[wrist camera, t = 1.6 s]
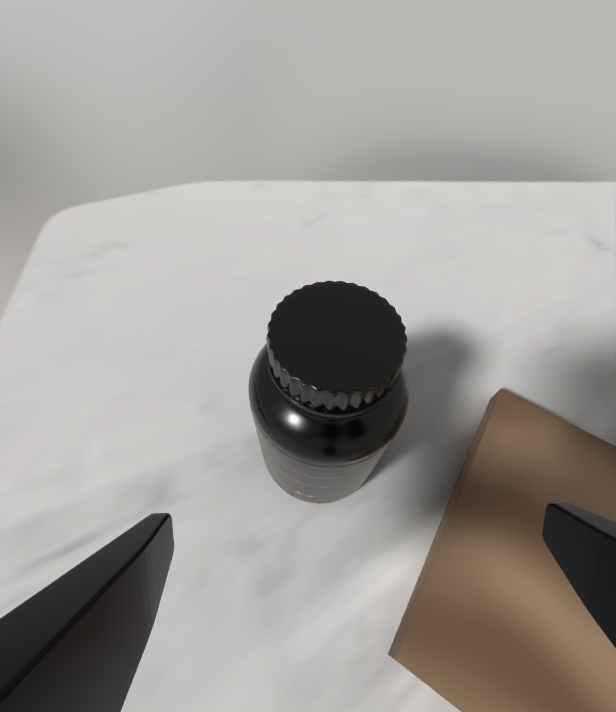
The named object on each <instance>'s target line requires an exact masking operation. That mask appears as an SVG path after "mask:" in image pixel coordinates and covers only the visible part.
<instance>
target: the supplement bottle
mask: <svg viewBox="0 0 616 712" xmlns="http://www.w3.org/2000/svg"><path fill="white" fill-rule="evenodd" d="M267 329H268V334H267V338H266V339H267V343H266V344H265V346H264V347H263V348H262V349H261V351H260V352H259V354H258V356H257V358H256V359H255V362H254V364H253V366H252V370H251V373H250V379H249V399H250V406H251V411H252V414H253V418H254V422H255V426H256V430H257V434H258V438H259V442H260V446H261V450H262V453H263V457H264V460H265V463H266V466H267V469H268V471H269V472H270V474H271V476H272V477H273V479H274V480H275V482H276V483H277V484H278V485H279V486H280V487H281V488H282V489H283V490H284V491H286V492H287V493H288V494H290V495H292V496H293V497H295V498H298V499H300V500H303V501H306V502H311V503H330V502H334V501H338V500H341V499H343V498H345V497H347V496H349V495H350V494H352V493H353V492H355V491H356V490H357V489H358V488H359V487H360V486H361V485H362V484H363V483H364V482H365V480H366V479H367V478H368V476H369V475H370V473H371V472H372V470H373V469H374V467H375V466H376V464H377V463H378V461H379V460H380V458H381V457H382V455H383V454H384V452H385V451H386V449H387V448H388V446H389V445H390V443H391V442H392V440H393V439H394V437H395V436H396V434H397V432H398V431H399V429H400V427H401V425H402V423H403V421H404V418H405V415H406V412H407V408H408V402H409V386H408V380H407V376H406V373H405V370H404V367H403V359H404V357H405V355H406V352H407V349H406V343H407V336H406V334H405V326H404V325H403V323H402V322H401V316H400V315H398V314H397V313H396V310H395V307H393V306H392V305H390V304H389V303H388V301H387V300H386V299H385V298H383V297H380V296H379V295H378V293H377V292H374V291H370V290H369V289H368V288H366V287H363V286H358V285H356V284H354V283H346V282H343V281H337V282H333V281H326V282H316V283H314V284H312V285H305V286H304V287H302V288H301V289H297V290H294V291H293V292H292V294H290V295H287V296H285V297H284V299H283V301H282V302H280V303H279V304H277V307H276V310H275V311H274V312H273V313H272V314H271V321H270V322H269V324H268V327H267Z"/></svg>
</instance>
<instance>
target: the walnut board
mask: <svg viewBox="0 0 616 712" xmlns="http://www.w3.org/2000/svg"><path fill="white" fill-rule="evenodd" d="M551 502H567V503H570V504H573V505H575V506H577V507H580V508H582V509H585V510H587V511H590V512H592V513H595V514H597V515H600V516H602V517H605V518H607V519H610V520H612V521H615V522H616V447H615V446H614V445H612V444H610V443H608V442H606V441H604V440H602V439H600V438H598V437H596V436H594V435H592V434H590V433H588V432H586V431H584V430H582V429H580V428H578V427H576V426H574V425H572V424H570V423H568V422H566V421H564V420H562V419H560V418H558V417H556V416H554V415H552V414H550V413H548V412H546V411H544V410H543V409H541V408H539V407H537V406H535V405H533V404H531V403H529V402H527V401H525V400H523V399H521V398H519V397H517V396H515V395H513V394H511V393H509V392H507V391H505V390H503V389H500V390H499V391H498V392H497V393H496V394H495V395H494V396H493V397H492V398H491V399H490V401H489V404H488V406H487V409H486V411H485V414H484V416H483V419H482V421H481V424H480V426H479V429H478V431H477V434H476V436H475V439H474V441H473V444H472V446H471V449H470V451H469V454H468V456H467V459H466V461H465V464H464V466H463V469H462V471H461V474H460V476H459V479H458V481H457V484H456V486H455V489H454V491H453V494H452V496H451V499H450V501H449V504H448V506H447V509H446V511H445V514H444V516H443V519H442V521H441V523H440V526H439V528H438V531H437V533H436V536H435V538H434V541H433V543H432V546H431V548H430V551H429V553H428V556H427V558H426V561H425V563H424V566H423V568H422V571H421V573H420V576H419V578H418V581H417V583H416V586H415V588H414V591H413V593H412V596H411V598H410V601H409V603H408V606H407V608H406V611H405V613H404V616H403V618H402V621H401V623H400V626H399V628H398V631H397V633H396V636H395V638H394V641H393V643H392V646H391V648H390V651H389V653H388V654H389V655H390V656H391V657H392V658H394V659H395V660H396V661H398V662H399V663H400V664H401V665H403V666H404V667H405V668H406V669H408V670H409V671H410V672H412V673H413V674H414V675H415V676H417V677H418V678H419V679H420V680H422V681H423V682H424V683H426V684H427V685H428V686H429V687H431V688H432V689H433V690H435V691H436V692H437V693H438V694H440V695H441V696H442V697H443V698H445V699H446V700H447V701H449V702H450V703H451V704H452V705H454V706H455V707H456V708H457V709H459V710H460V711H461V712H616V648H615V647H614V646H613V644H612V643H611V642H610V640H609V639H608V638H607V636H606V635H605V634H604V632H603V631H602V630H601V628H600V627H599V626H598V624H597V623H596V622H595V620H594V619H593V617H592V616H591V615H590V613H589V612H588V610H587V609H586V607H585V606H584V604H583V603H582V601H581V600H580V598H579V597H578V595H577V594H576V592H575V591H574V589H573V587H572V586H571V584H570V583H569V581H568V579H567V578H566V576H565V575H564V573H563V571H562V570H561V568H560V567H559V565H558V564H557V562H556V560H555V559H554V557H553V556H552V554H551V552H550V551H549V549H548V548H547V546H546V544H545V543H544V540H543V537H542V528H543V522H544V516H545V509H546V506H547V505H548V504H549V503H551Z"/></svg>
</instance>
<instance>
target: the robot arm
mask: <svg viewBox="0 0 616 712" xmlns="http://www.w3.org/2000/svg"><path fill="white" fill-rule="evenodd" d="M542 537H543V540H544V543H545V544H546V546H547V548H548V549H549V551H550V552H551V554H552V556H553V557H554V559H555V560H556V562H557V564H558V565H559V567H560V568H561V570H562V571H563V573H564V575H565V576H566V578H567V579H568V581H569V583H570V584H571V586H572V587H573V589H574V591H575V592H576V594H577V595H578V597H579V598H580V600H581V601H582V603H583V604H584V606H585V607H586V609H587V610H588V612H589V613H590V615H591V616H592V617H593V619H594V620H595V622H596V623H597V624H598V626H599V627H600V628H601V630H602V631H603V632H604V634H605V635H606V636H607V638H608V639H609V640H610V642H611V643H612V644H613V646H614V647H615V648H616V522H615V521H612V520H610V519H607V518H605V517H602V516H600V515H597V514H595V513H592V512H590V511H587V510H585V509H582V508H580V507H577V506H575V505H573V504H570V503H567V502H551V503H549V504H548V505H547V506H546V509H545V516H544V522H543V528H542ZM173 551H174V539H173V527H172V518H171V515H170V514H169V513H154V514H151V515H149V516H148V517H146V518H145V519H143V520H142V521H140V522H139V523H137V524H136V525H135V526H133V527H132V528H130V529H129V530H127V531H126V532H124V533H123V534H122V535H120V536H119V537H117V538H116V539H114V540H113V541H111V542H110V543H109V544H107V545H106V546H104V547H103V548H101V549H100V550H99V551H97V552H96V553H94V554H93V555H91V556H90V557H88V558H87V559H86V560H84V561H83V562H81V563H80V564H78V565H77V566H75V567H74V568H73V569H71V570H70V571H68V572H67V573H65V574H64V575H62V576H61V577H60V578H58V579H57V580H55V581H54V582H52V583H51V584H49V585H48V586H47V587H45V588H44V589H42V590H41V591H39V592H38V593H36V594H35V595H34V596H32V597H31V598H29V599H28V600H26V601H25V602H23V603H22V604H21V605H19V606H18V607H16V608H15V609H13V610H12V611H10V612H9V613H8V614H6V615H5V616H3V617H2V618H0V712H121V709H122V706H123V704H124V701H125V699H126V696H127V693H128V691H129V688H130V686H131V683H132V680H133V678H134V675H135V673H136V670H137V667H138V665H139V662H140V660H141V657H142V654H143V652H144V649H145V647H146V644H147V642H148V639H149V636H150V633H151V630H152V628H153V624H154V621H155V618H156V614H157V611H158V607H159V603H160V600H161V596H162V592H163V589H164V585H165V582H166V578H167V574H168V571H169V567H170V564H171V560H172V556H173Z"/></svg>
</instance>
